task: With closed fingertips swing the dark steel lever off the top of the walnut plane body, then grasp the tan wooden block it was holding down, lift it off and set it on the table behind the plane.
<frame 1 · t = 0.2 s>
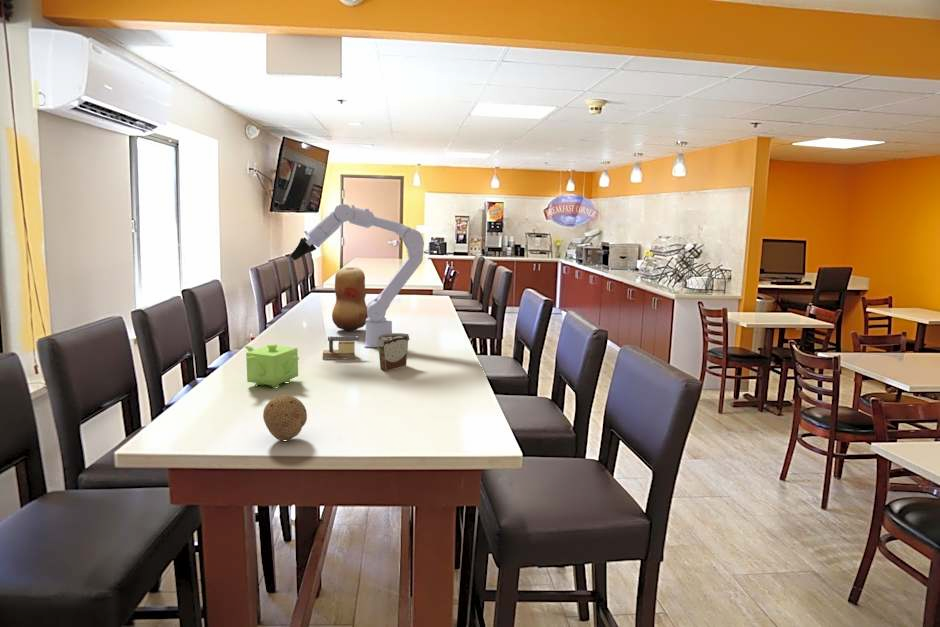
hand: (293, 257, 216), 31 cm above the table, tool tilted 45°, fingers open, 7 cm apart
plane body: (338, 357, 208), on the table
butternut squash: (350, 331, 250), on the table
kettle: (270, 384, 178), on the table
natural sponge: (286, 440, 137), on the table
food container: (388, 367, 198), on the table
tan wooden block: (346, 351, 208), point 2 cm above the table, touching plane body
lever: (343, 338, 208), point 6 cm above the table, hinge at 0.0°
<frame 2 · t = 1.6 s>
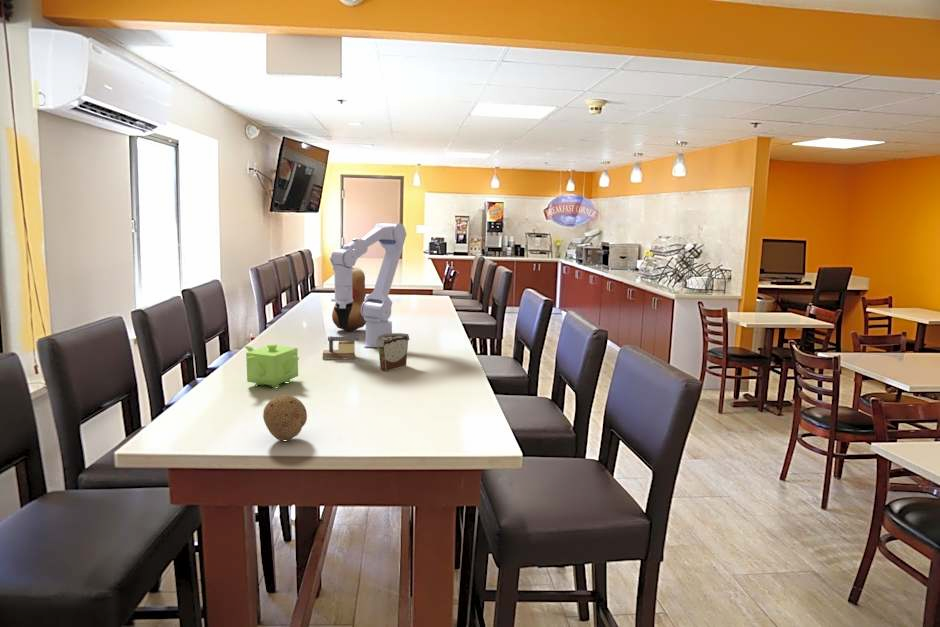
hand: (344, 326, 212), 9 cm above the table, tool pointing down, fingers open, 6 cm apart
nothing on the table moved.
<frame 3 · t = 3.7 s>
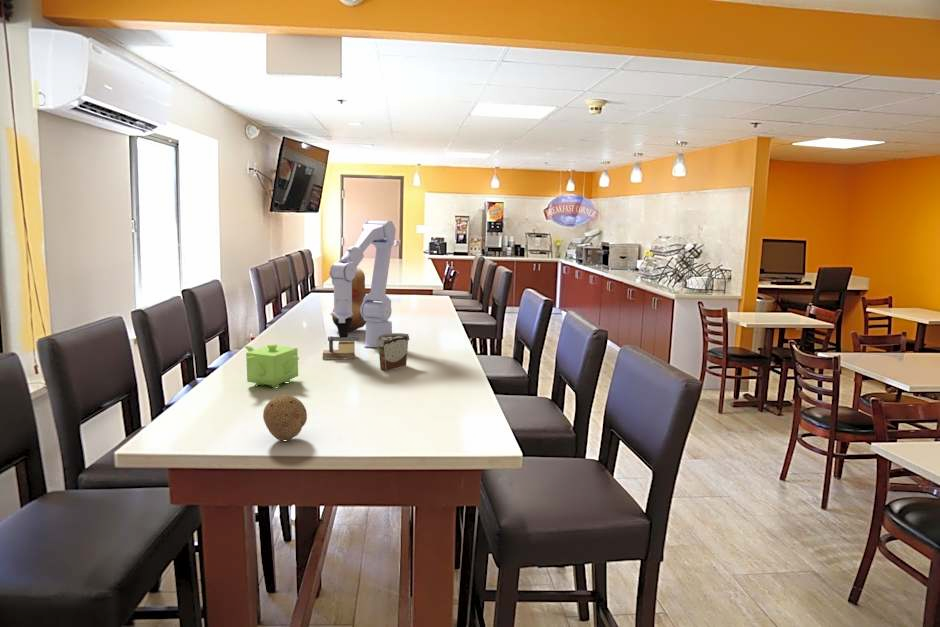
hand: (343, 340, 208), 5 cm above the table, tool pointing down, fingers closed, pressing on lever
lever: (343, 338, 208), point 6 cm above the table, hinge at 1.6°, touching gripper
everything else where it was.
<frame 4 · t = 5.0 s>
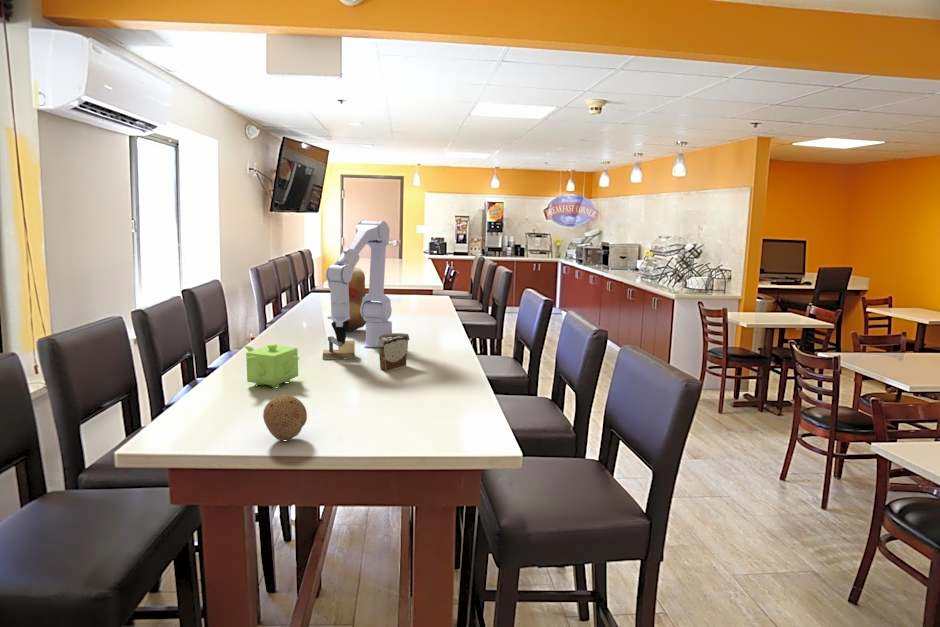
hand: (341, 344, 204), 5 cm above the table, tool pointing down, fingers closed, pressing on lever
lever: (335, 341, 204), point 6 cm above the table, hinge at 66.2°, touching gripper
everything else where it was.
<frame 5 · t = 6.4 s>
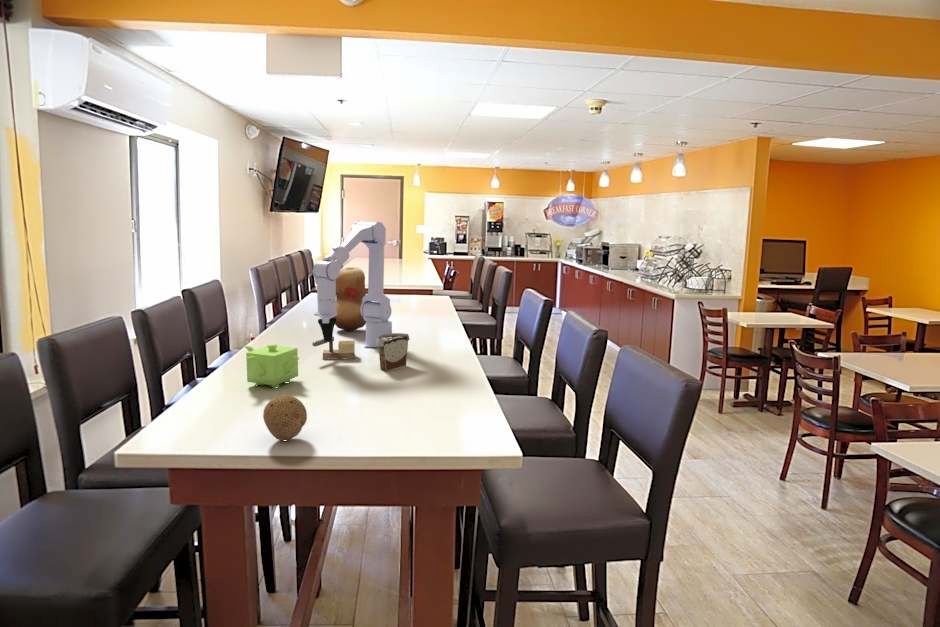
hand: (328, 341, 203), 6 cm above the table, tool pointing down, fingers closed
lever: (323, 341, 203), point 6 cm above the table, hinge at 121.1°, touching gripper
everything else where it was.
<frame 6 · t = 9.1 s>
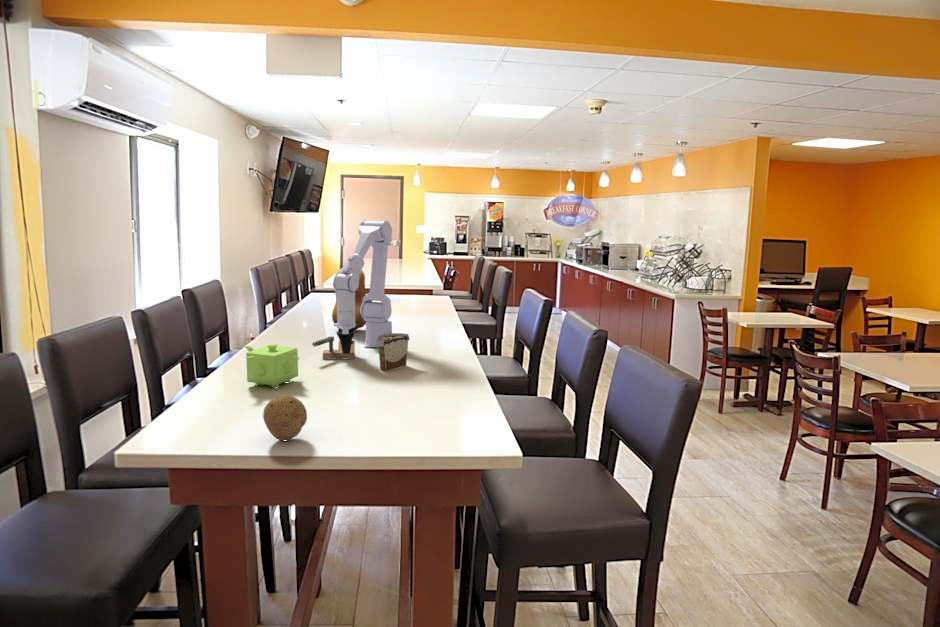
hand: (346, 351, 208), 2 cm above the table, tool pointing down, fingers closed on tan wooden block, 5 cm apart
tan wooden block: (346, 351, 208), point 2 cm above the table, touching gripper, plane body
lever: (323, 341, 203), point 6 cm above the table, hinge at 121.2°
everything else where it was.
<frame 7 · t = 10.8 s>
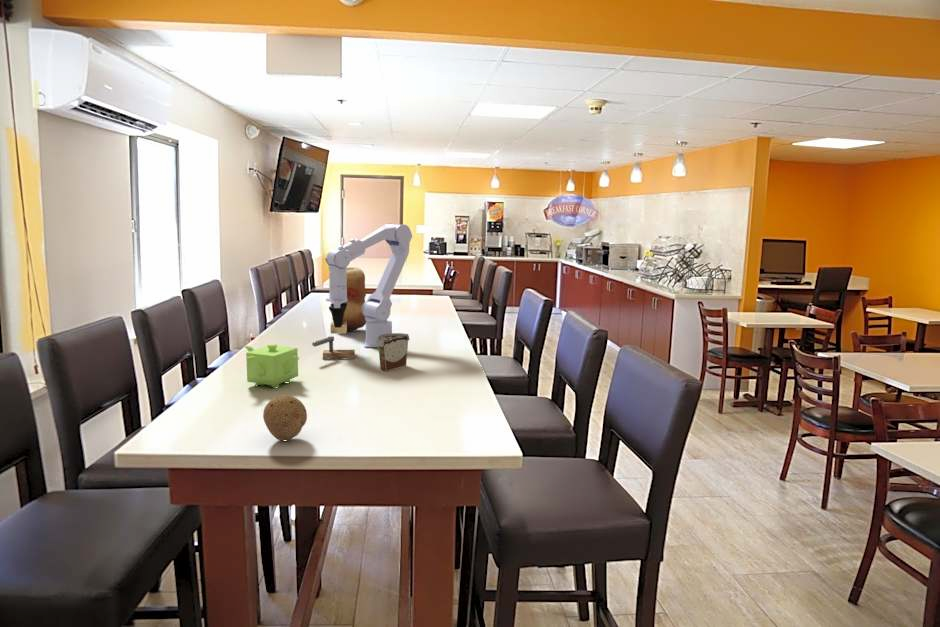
hand: (338, 325, 215), 9 cm above the table, tool pointing down, fingers closed on tan wooden block, 5 cm apart
tan wooden block: (338, 331, 215), point 7 cm above the table, touching gripper
everything else where it was.
when the fingers open (2 cm above the table, at t = 12.4 s): tan wooden block stays where it is, on the table.
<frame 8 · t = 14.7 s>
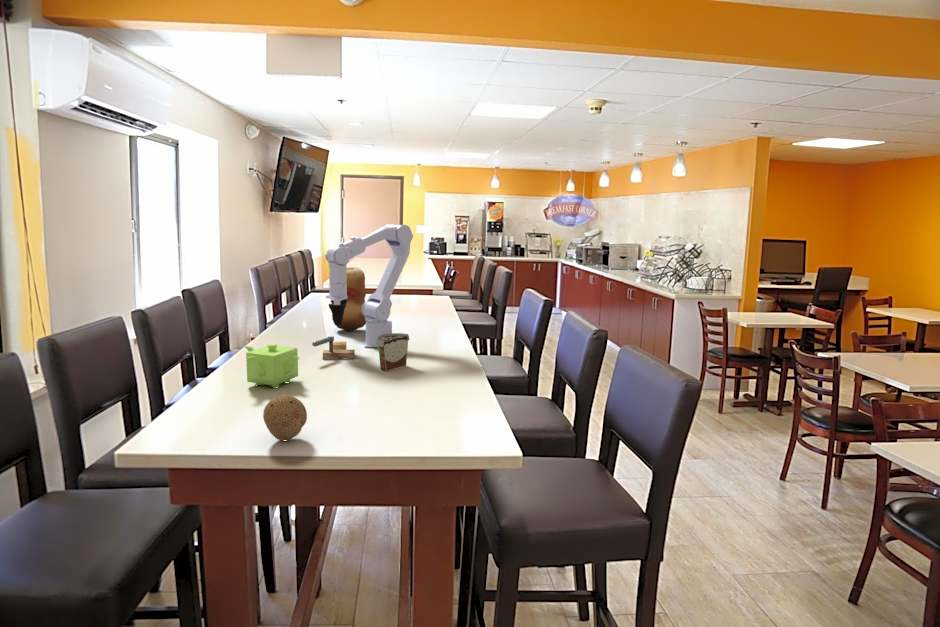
hand: (338, 322, 215), 10 cm above the table, tool pointing down, fingers open, 7 cm apart
tan wooden block: (338, 351, 217), on the table
everything else where it was.
at the end: lever at +121° (first picture: +0°); tan wooden block inside the target area (0.0 cm from its centre), on the table; tan wooden block touching table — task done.
